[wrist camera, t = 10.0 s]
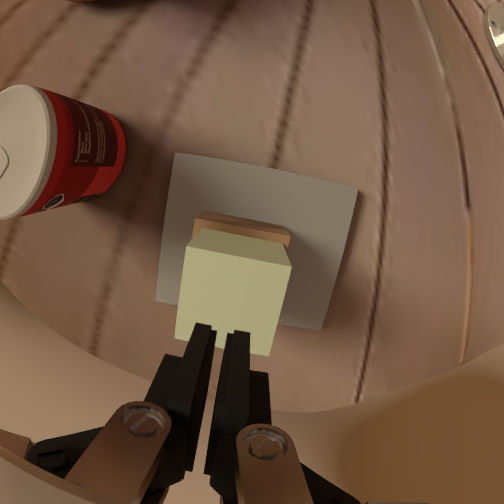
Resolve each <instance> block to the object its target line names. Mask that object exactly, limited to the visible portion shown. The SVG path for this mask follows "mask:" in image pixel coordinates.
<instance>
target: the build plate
mask: <svg viewBox="0 0 504 504" xmlns="http://www.w3.org/2000/svg"><path fill="white" fill-rule="evenodd" d="M357 193H358V188H355V187H351V186H347V185H343V184H339V183H335V182H331V181H327V180H323V179H318V178H314V177H310V176H305V175H301V174H296V173H292V172H287V171H282V170H277V169H273V168H268V167H263V166H257V165H252V164H247V163H241V162H236V161H230V160H224V159H218V158H212V157H206V156H199V155H193V154H186V153H179V152H175V156H174V162H173V168H172V173H171V179H170V185H169V192H168V198H167V205H166V212H165V219H164V226H163V234H162V242H161V250H160V259H159V268H158V278H157V289H156V301H158V302H163V303H167V304H172V305H176V306H178V303H179V295H180V287H181V280H182V272H183V265H184V258H185V251H186V246H187V245H188V244H189V243H190V242H191V240H192V235H193V228H194V222H195V218H196V217H198V216H199V215H200V214H202V213H203V212H204V211H208V212H213V213H219V214H224V215H230V216H235V217H241V218H246V219H251V220H256V221H262V222H267V223H272V224H277V225H282V226H285V228H286V230H287V231H288V233H289V235H290V236H291V237H290V241H289V246H288V250H287V256H288V259H289V261H290V264H291V266H292V268H291V272H290V276H289V280H288V284H287V288H286V292H285V296H284V300H283V304H282V308H281V312H280V316H279V320H278V323H277V324H279V325H285V326H292V327H298V328H305V329H312V330H319V331H321V329H322V326H323V323H324V320H325V316H326V313H327V310H328V306H329V303H330V300H331V296H332V293H333V289H334V286H335V282H336V279H337V275H338V271H339V268H340V264H341V260H342V256H343V252H344V248H345V244H346V240H347V236H348V232H349V228H350V224H351V220H352V215H353V211H354V207H355V202H356V197H357Z"/></svg>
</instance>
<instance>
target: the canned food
mask: <svg viewBox="0 0 504 504" xmlns="http://www.w3.org/2000/svg"><path fill="white" fill-rule="evenodd" d="M126 152H127V151H126V139H125V134H124V132H123V130H122V127H121V126H120V124H119V123H118V121H117V120H116V118H114V117H113V116H112V115H111V114H110V113H108V112H106V111H103V110H101V109H98V108H96V107H93V106H90V105H88V104H85V103H82V102H80V101H77V100H74V99H71V98H69V97H66V96H63V95H60V94H57V93H54V92H51V91H48V90H45V89H42V88H38V87H35V86H28V85H15V86H11V87H9V88H7V89H5V90H3V91H2V92H1V93H0V220H3V219H12V218H16V217H20V216H25V215H29V214H33V213H37V212H41V211H45V210H49V209H53V208H57V207H62V206H66V205H70V204H75V203H79V202H84V201H88V200H92V199H94V198H97V197H98V196H100V195H101V194H103V193H104V192H105V191H107V190H108V189H109V188H110V187H111V186H112V185H113V184H114V182H115V181H116V179H117V178H118V177H119V175H120V173H121V171H122V169H123V166H124V162H125V158H126Z"/></svg>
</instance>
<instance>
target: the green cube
mask: <svg viewBox="0 0 504 504" xmlns="http://www.w3.org/2000/svg"><path fill="white" fill-rule="evenodd" d="M291 268H292V266H291V264H290V261H289V259H288V256H287V254H286V251H285V249H284V246H283V244H282V243H277V242H272V241H267V240H262V239H257V238H252V237H247V236H242V235H237V234H231V233H226V232H221V231H216V230H211V229H206V228H203V229H202V230H201V231H200V232H199V233H198V234H197V235H196V236H195V237H194V238H193V239H192V240H191V242H190V243H189V244H188V245H187V246H186V251H185V258H184V265H183V272H182V280H181V287H180V295H179V303H178V311H177V320H176V329H175V338H176V339H181V340H185V341H189V339H190V337H191V334H192V331H193V329H194V326H195V323H196V322H197V323H202V324H207V325H212V329H211V330H216V331H217V337H216V343H215V347H219V348H225V342H226V337H227V333H232V334H233V333H234V330H239V331H245V332H250V353H252V354H258V355H264V356H269V353H270V349H271V346H272V342H273V338H274V335H275V331H276V327H277V323H278V320H279V316H280V312H281V308H282V304H283V300H284V296H285V292H286V288H287V284H288V280H289V276H290V272H291Z"/></svg>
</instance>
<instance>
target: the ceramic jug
mask: <svg viewBox="0 0 504 504" xmlns="http://www.w3.org/2000/svg"><path fill="white" fill-rule="evenodd" d="M68 1H73V2H88V1H94V0H68Z"/></svg>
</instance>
